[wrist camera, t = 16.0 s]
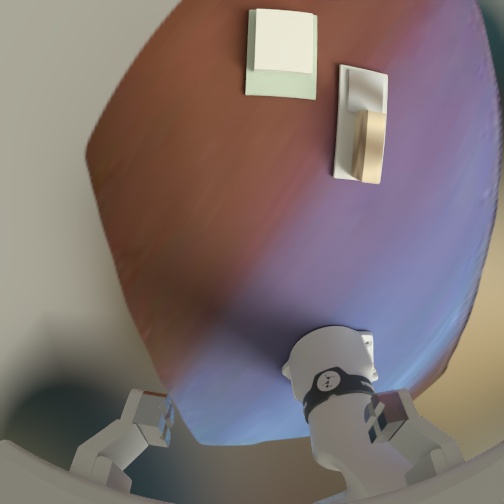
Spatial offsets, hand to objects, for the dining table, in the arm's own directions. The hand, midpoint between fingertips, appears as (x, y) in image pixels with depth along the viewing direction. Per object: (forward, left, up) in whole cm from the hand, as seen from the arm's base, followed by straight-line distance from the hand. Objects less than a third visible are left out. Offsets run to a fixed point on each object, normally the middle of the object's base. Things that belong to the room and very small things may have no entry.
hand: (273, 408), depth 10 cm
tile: (+14, -10, -29) cm, 34 cm away
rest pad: (+4, -17, -31) cm, 36 cm away
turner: (+4, -17, -31) cm, 35 cm away
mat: (+17, -12, -31) cm, 37 cm away
